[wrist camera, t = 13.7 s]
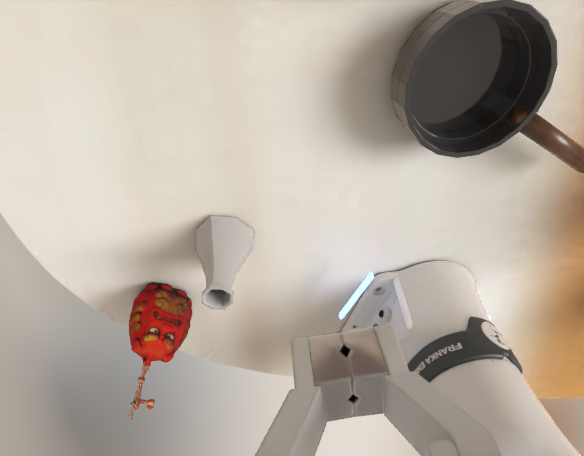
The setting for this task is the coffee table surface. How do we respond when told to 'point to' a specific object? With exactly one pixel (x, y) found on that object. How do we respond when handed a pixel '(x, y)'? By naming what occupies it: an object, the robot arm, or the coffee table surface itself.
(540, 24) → the pan
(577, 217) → the coffee table surface
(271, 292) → the coffee table surface
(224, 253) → the flask
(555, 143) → the pan handle
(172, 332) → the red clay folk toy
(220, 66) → the coffee table surface
